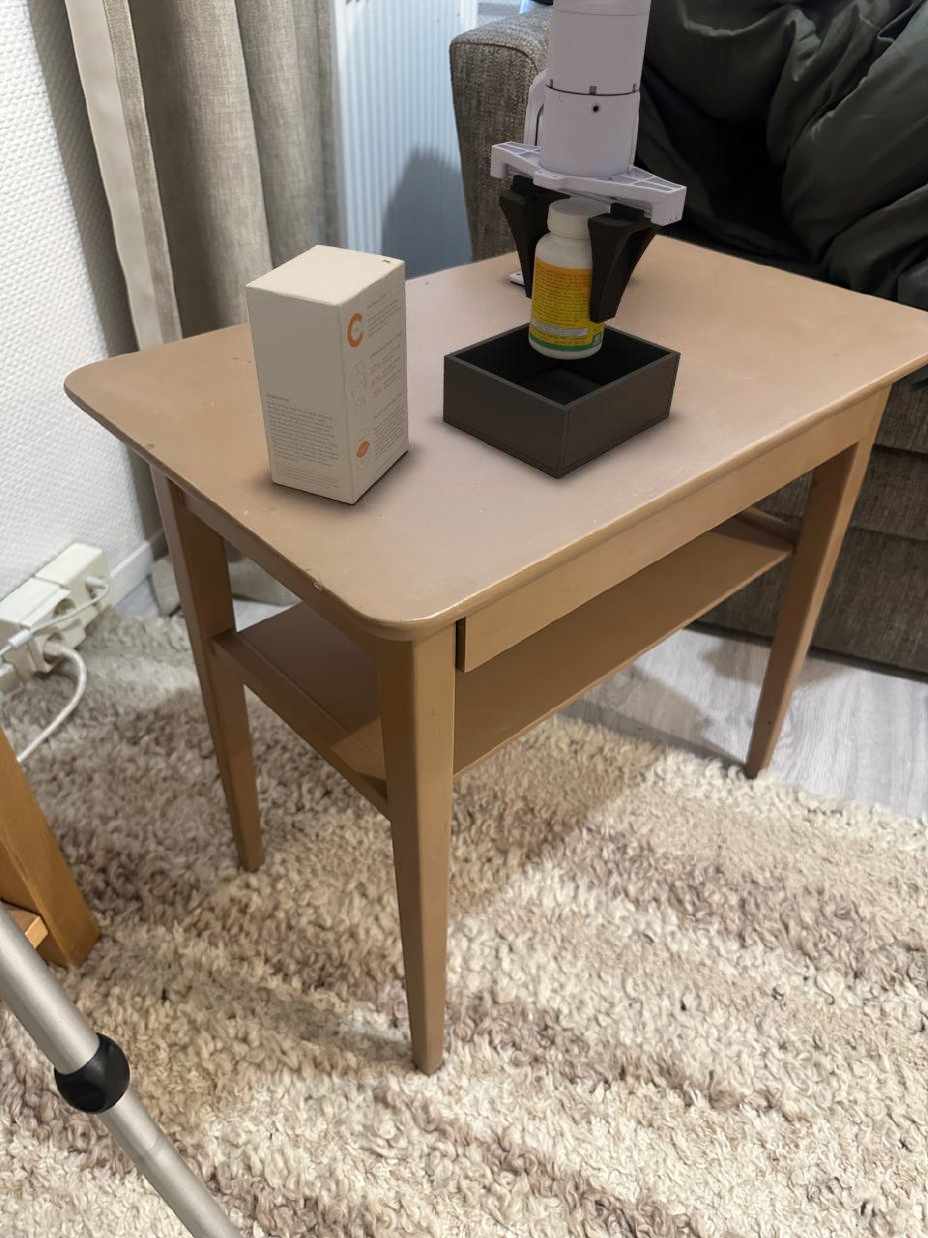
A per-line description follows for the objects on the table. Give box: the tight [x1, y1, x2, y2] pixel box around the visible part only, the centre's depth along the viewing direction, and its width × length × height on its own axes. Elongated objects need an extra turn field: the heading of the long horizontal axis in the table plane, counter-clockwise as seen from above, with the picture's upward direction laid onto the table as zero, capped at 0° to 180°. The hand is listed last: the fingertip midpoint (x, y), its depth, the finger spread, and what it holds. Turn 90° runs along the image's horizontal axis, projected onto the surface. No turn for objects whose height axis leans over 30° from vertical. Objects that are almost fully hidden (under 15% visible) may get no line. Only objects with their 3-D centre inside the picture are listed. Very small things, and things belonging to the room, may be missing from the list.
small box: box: [244, 244, 410, 505], centre depth 56 cm, size 8×6×13 cm
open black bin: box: [442, 321, 682, 479], centre depth 65 cm, size 13×11×5 cm
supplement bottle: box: [529, 199, 610, 359], centre depth 62 cm, size 5×5×10 cm
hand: (569, 306), depth 64 cm, fingers closed on supplement bottle, 5 cm apart
